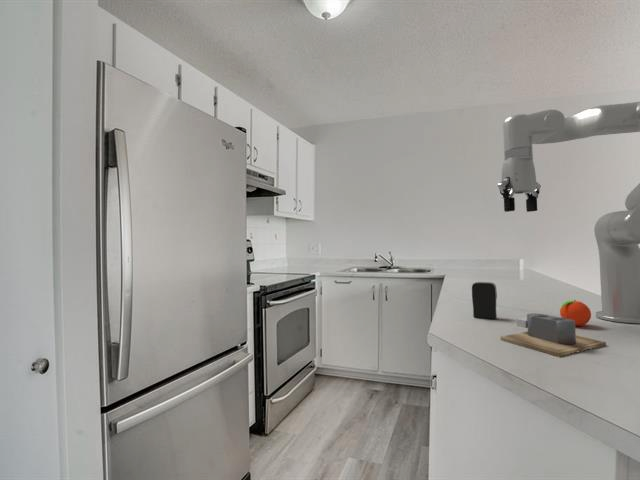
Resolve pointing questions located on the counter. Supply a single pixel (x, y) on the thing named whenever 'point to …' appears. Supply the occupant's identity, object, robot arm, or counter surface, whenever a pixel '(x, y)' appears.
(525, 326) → the usb stick
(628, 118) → the robot arm
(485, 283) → the battery charger
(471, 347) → the counter surface
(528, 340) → the board
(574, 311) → the clementine
